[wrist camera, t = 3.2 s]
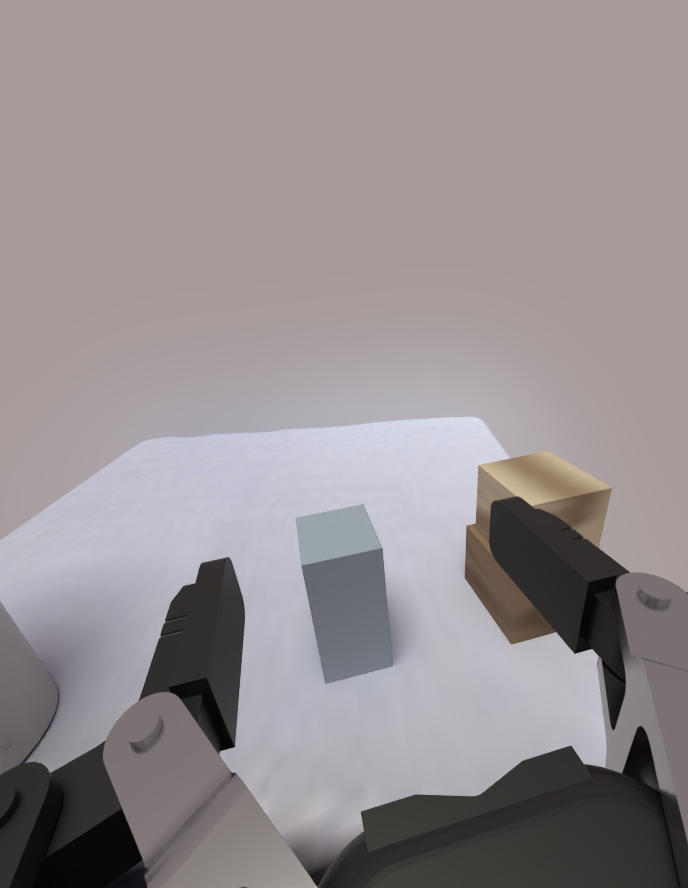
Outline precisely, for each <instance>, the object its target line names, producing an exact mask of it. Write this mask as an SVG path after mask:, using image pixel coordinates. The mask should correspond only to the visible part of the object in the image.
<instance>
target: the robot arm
mask: <svg viewBox="0 0 688 888" xmlns="http://www.w3.org/2000/svg"><path fill="white" fill-rule="evenodd" d="M489 546H490V550H491V553H492V555H493V557H494V559H495V560H496V562H497V563H498V564H499V565H500V566H501V568H502V569H503V570H504V571H505V572H506V573H507V575H508V576H509V577H510V578H511V579H512V581H513V582H514V583H515V584H516V585H517V586H518V588H519V589H520V590H521V591H522V592H523V593H524V595H525V596H526V597H527V598H528V599H529V601H530V602H531V603H532V604H533V605H534V606H535V608H536V609H537V610H538V611H539V612H540V614H541V615H542V616H543V617H544V618H545V619H546V621H547V622H548V623H549V624H550V625H551V626H552V628H553V629H554V630H555V631H556V632H557V634H558V635H559V636H560V637H561V638H562V639H563V641H564V642H565V643H566V644H567V645H568V646H569V648H570V649H571V650H572V651H573V652H574V654H576V653H579V652H583V651H586V650H590V649H593V650H594V651H595V652H596V654H597V655H598V656H599V658H598V662H597V668H598V676H599V684H600V692H601V700H602V708H603V715H604V723H605V731H606V741H607V754H606V768H603V767H599V766H593V765H587V764H583V762H582V761H581V759H580V758H579V756H578V755H577V753H576V752H575V750H574V749H573V747H572V746H568V747H565V748H562V749H559V750H556V751H553V752H549V753H546V754H543V755H540V756H537V757H533V758H530V759H527V760H524V761H522V762H521V763H519V764H518V765H517V766H516V767H514V768H513V769H512V770H511V771H509V772H508V773H507V774H506V775H504V776H503V777H502V778H501V779H499V780H498V781H497V782H496V783H494V784H493V785H492V786H491V787H489V788H488V789H487V790H486V791H485V792H483V793H482V794H480V795H478V796H443V795H413V796H409V797H406V798H403V799H400V800H397V801H394V802H390V803H387V804H384V805H381V806H378V807H374V808H371V809H368V810H365V811H362V812H361V816H362V821H363V827H364V832H362V833H361V834H360V835H359V836H357V837H356V838H355V839H354V840H352V841H351V842H350V843H349V844H348V845H347V846H346V847H345V848H344V849H343V851H342V852H341V853H340V854H339V855H338V856H337V858H336V859H335V860H334V862H333V863H332V864H331V866H330V867H329V868H328V870H327V872H326V874H325V875H324V877H323V879H322V880H321V882H320V884H319V885H318V887H317V886H316V885H315V883H314V882H313V880H312V879H311V877H310V876H309V875H308V873H307V872H306V870H305V869H304V868H303V866H302V865H301V863H300V862H299V860H298V859H297V858H296V856H295V855H294V853H293V852H292V851H291V849H290V848H289V846H288V845H287V843H286V842H285V841H284V839H283V838H282V836H281V835H280V833H279V832H278V831H277V829H276V828H275V826H274V825H273V824H272V822H271V821H270V819H269V818H268V816H267V815H266V814H265V812H264V811H263V809H262V808H261V806H260V805H259V804H258V802H257V801H256V799H255V798H254V797H253V795H252V794H251V792H250V791H249V789H248V788H247V787H246V785H245V784H244V782H243V781H242V780H241V779H240V777H239V776H238V775H237V774H236V773H235V772H234V773H232V772H231V771H230V770H229V769H228V767H227V766H226V764H225V763H224V761H223V760H222V759H221V757H220V756H219V753H220V751H222V750H226V749H229V748H233V747H235V738H236V725H237V713H238V700H239V687H240V675H241V662H242V650H243V637H244V624H245V609H244V602H243V597H242V594H241V591H240V587H239V584H238V581H237V577H236V574H235V571H234V568H233V564H232V561H231V559H230V558H229V557H227V558H222V559H218V560H213V561H208V562H204V563H201V565H200V568H199V572H198V575H197V579H196V583H195V584H191V585H186V586H183V587H182V589H181V590H180V591H179V593H178V594H177V595H176V596H175V598H174V599H173V600H172V602H171V604H170V607H169V610H168V613H167V616H166V619H165V621H166V622H165V623H164V625H163V628H162V631H161V634H160V635H161V638H159V641H158V644H157V647H156V650H155V653H154V656H153V659H152V662H151V665H150V668H149V671H148V674H147V677H146V681H145V684H144V687H143V690H142V693H141V696H140V698H139V701H138V702H137V703H135V704H134V705H132V706H131V707H130V708H129V709H128V710H127V711H126V712H125V713H124V714H123V715H122V716H121V717H120V718H119V719H118V721H117V722H116V723H115V725H114V726H113V728H112V729H111V731H110V733H109V735H108V737H107V739H106V741H104V742H103V743H102V744H100V745H98V746H97V747H95V748H94V749H92V750H90V751H88V752H87V753H85V754H83V755H81V756H80V757H78V758H76V759H74V760H73V761H71V762H69V763H67V764H66V765H64V766H62V767H60V768H59V769H57V770H55V771H53V772H52V773H50V772H49V771H48V769H47V768H46V767H45V766H44V765H43V764H41V763H37V762H29V763H25V764H21V765H20V763H21V762H22V761H23V760H24V759H25V758H26V757H27V756H28V754H29V753H30V752H31V751H32V749H33V748H34V747H35V746H36V745H37V743H38V742H39V740H40V739H41V737H42V736H43V734H44V733H45V731H46V729H47V728H48V726H49V724H50V722H51V720H52V718H53V715H54V713H55V710H56V706H57V702H58V689H57V687H56V684H55V682H54V681H53V679H52V678H51V676H50V675H49V673H48V672H47V670H46V669H45V667H44V666H43V664H42V663H41V661H40V660H39V658H38V657H37V655H36V654H35V652H34V651H33V649H32V647H31V646H30V644H29V643H28V642H27V640H26V639H25V637H24V636H23V634H22V633H21V631H20V630H19V628H18V627H17V625H16V624H15V622H14V621H13V619H12V618H11V616H10V615H9V614H8V612H7V611H6V609H5V608H4V606H3V605H2V603H1V602H0V888H104V887H105V886H107V885H108V884H110V883H111V882H112V881H114V880H115V879H117V878H118V877H119V876H121V875H122V874H124V873H125V872H126V871H128V870H129V869H130V868H132V867H133V866H135V865H136V864H137V863H139V862H140V861H142V860H143V861H144V864H145V868H146V870H145V871H144V876H145V880H146V884H147V887H148V888H688V592H685V591H684V590H683V589H681V588H680V587H679V586H677V585H675V584H674V583H672V582H670V581H668V580H665V579H663V578H660V577H658V576H655V575H650V574H645V573H630V572H629V571H627V570H626V569H625V568H624V567H622V566H621V565H620V564H618V563H617V562H616V561H614V560H613V559H612V558H611V557H609V556H608V555H607V554H605V553H604V552H603V551H602V550H600V549H599V548H598V547H596V546H595V545H594V544H592V543H591V542H590V541H589V540H587V539H584V538H583V536H582V535H581V534H579V533H578V532H577V531H576V530H574V529H573V530H572V529H571V527H570V526H569V525H568V524H566V523H565V522H564V521H563V520H561V519H560V518H559V517H557V516H555V515H553V514H551V513H548V512H546V511H544V510H542V509H539V508H538V509H535V508H534V507H532V506H531V505H530V504H529V503H527V502H526V501H525V500H524V499H522V498H521V497H519V496H514V497H510V498H505V499H500V500H496V501H493V502H492V504H491V510H490V530H489Z"/></svg>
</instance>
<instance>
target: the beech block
mask: <svg viewBox="0 0 688 888" xmlns="http://www.w3.org/2000/svg"><path fill="white" fill-rule="evenodd" d="M611 489H612V488H611V487H609V486H608V485H606V484H604V483H602V482H600V481H599V480H597V479H595V478H594V477H592V476H590V475H588V474H587V473H585V472H583V471H581V470H580V469H578V468H576V467H574V466H573V465H571V464H569V463H567V462H566V461H564V460H562V459H560V458H558V457H557V456H555V455H553V454H552V453H550V452H548V451H546V452H542V453H537V454H531V455H527V456H522V457H517V458H512V459H507V460H502V461H497V462H492V463H487V464H482V465H478V487H477V509H476V529H477V530H478V531H479V532H480V533H481V534H482V535H483V536H484V538H485V539H486V540H487V541H488V542H489V530H490V510H491V504H492V502H493V501H496V500H500V499H505V498H510V497H514V496H519V497H521V498H522V499H524V500H525V501H526V502H527V503H529V504H530V505H531V506H532V507H534V508H535V509H538V508H539V509H542V510H544V511H546V512H548V513H551V514H553V515H555V516H557V517H559V518H560V519H561V520H563V521H564V522H565V523H566V524H568V525H569V526H570V527H571V529H572V530H573V529H574V530H576V531H577V532H578V533H579V534H581V535H582V536H583V538H584V539H587V540H589V541H590V542H591V543H592V544H594V545H595V546H596V547H598V548H599V543H600V539H601V535H602V530H603V526H604V521H605V516H606V512H607V508H608V503H609V498H610V494H611Z"/></svg>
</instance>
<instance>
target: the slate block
mask: <svg viewBox="0 0 688 888" xmlns="http://www.w3.org/2000/svg"><path fill="white" fill-rule="evenodd" d="M296 523H297V532H298V540H299V549H300V557H301V566H302V570H303V575H304V580H305V585H306V590H307V595H308V600H309V605H310V610H311V615H312V620H313V625H314V630H315V634H316V639H317V644H318V649H319V654H320V659H321V664H322V669H323V674H324V679H325V684H326V683H330V682H334V681H338V680H342V679H345V678H349V677H353V676H357V675H361V674H364V673H368V672H372V671H376V670H379V669H383V668H387V667H391V666H392V657H391V645H390V633H389V621H388V609H387V597H386V585H385V573H384V561H383V549H382V546H381V544H380V541H379V539H378V537H377V534H376V532H375V530H374V528H373V525H372V523H371V521H370V519H369V516H368V514H367V512H366V509H365V507H364V505H358V506H353V507H348V508H343V509H338V510H333V511H328V512H323V513H318V514H313V515H308V516H303V517H298V518H296Z"/></svg>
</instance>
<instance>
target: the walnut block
mask: <svg viewBox="0 0 688 888" xmlns="http://www.w3.org/2000/svg"><path fill="white" fill-rule="evenodd" d="M465 579H466V580H467V582H468V583H469V584H470V586H471V587H472V589H473V590H474V592H475V593H476V595H477V596H478V597H479V599H480V600H481V602H482V603H483V605H484V606H485V607H486V609H487V610H488V612H489V613H490V615H491V616H492V618H493V619H494V620H495V622H496V623H497V625H498V626H499V628H500V629H501V630H502V632H503V633H504V635H505V636H506V638H507V639H508V641H509V642H510V643H511V644H515V643H518V642H522V641H526V640H529V639H533V638H536V637H540V636H544V635H547V634H551V633H554V632H556V631H555V630H554V629H553V628H552V626H551V625H550V624H549V623H548V622H547V621H546V619H545V618H544V617H543V616H542V615H541V614H540V612H539V611H538V610H537V609H536V608H535V606H534V605H533V604H532V603H531V602H530V601H529V599H528V598H527V597H526V596H525V595H524V593H523V592H522V591H521V590H520V589H519V588H518V586H517V585H516V584H515V583H514V582H513V581H512V579H511V578H510V577H509V576H508V575H507V573H506V572H505V571H504V570H503V569H502V568H501V566H500V565H499V564H498V563H497V562H496V560H495V559H494V557H493V555H492V553H491V550H490V546H489V542H488V541H487V540H486V539H485V538H484V536H483V535H482V534H481V533H480V532H479V531H478V530H477V529H476V524H472V525H468V526H467V530H466V560H465Z"/></svg>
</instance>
